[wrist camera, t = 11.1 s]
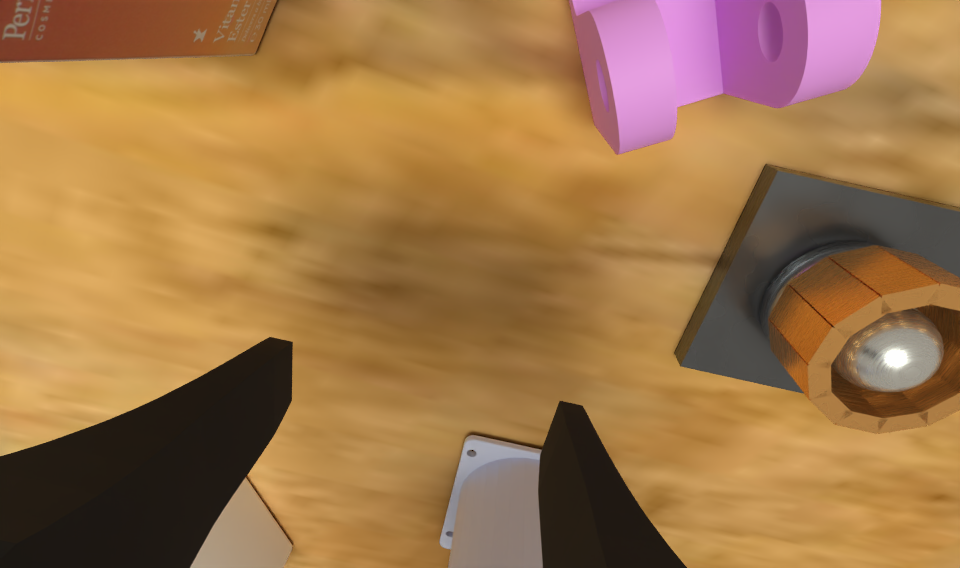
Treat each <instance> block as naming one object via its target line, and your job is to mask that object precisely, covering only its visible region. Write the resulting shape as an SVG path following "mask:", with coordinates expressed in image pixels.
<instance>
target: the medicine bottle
mask: <svg viewBox="0 0 960 568" xmlns="http://www.w3.org/2000/svg"><path fill="white" fill-rule="evenodd" d="M291 550H292V544H291V542H290V541H289V539H288V538H287V536H286V535H285V534H284V532H283V531H282V529H281V528H280V526H279V525H278V523H277V522H276V520H275V519H274V518H273V516H272V515H271V513H270V512H269V510H268V509H267V507H266V506H265V504H264V503H263V502H262V500H261V499H260V497H259V496H258V494H257V493H256V491H255V490H254V488H253V487H252V485H251V484H250V483H249V481H248V480H247V478H246V477H245V479H244V480H243V482H242V483H241V485H240V486H239V488H238V489H237V491H236V492H235V493H234V495H233V496H232V498H231V499H230V501H229V502H228V504H227V505H226V507H225V508H224V510H223V511H222V513H221V514H220V516H219V518H218V519H217V521H216V522H215V524H214V526H213V527H212V529H211V531H210V533H209V534H208V536H207V538H206V540H205V542H204V543H203V545H202V547H201V549H200V551H199V552H198V554H197V556H196V558H195V560H194V561H193V563H192V565H191V567H190V568H284V565H285V563H286V561H287V559H288V557H289V555H290V553H291Z"/></svg>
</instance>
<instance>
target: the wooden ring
mask: <svg viewBox="0 0 960 568" xmlns="http://www.w3.org/2000/svg"><path fill="white" fill-rule="evenodd" d="M789 284H790V285H788V284H787V286H786V287H785V289H784V291H783V293H782V294H781V296H780V298H779V300H778V301H777V303H776V305H775V306H774V308H773V310H772V312H771V313H770V315H769V317H768V318H769V319H768V325H769V337H770V348H771V351H772V352H773V353H774V355H775V356H776V357H777V359H778V360H779V361H780V363H781V364H782V365H783V366H784V368H785V369H786V370H787V372H788V373H789V374H790V376H791V377H792V378H793V379H794V381H795V382H796V383H797V385H798V386H799V387H800V389H801V390H802V391H803V392H804V394H805V395H806V396H807V398H808V399H809V400H810V401H811V402H812V403H813V404H814V405H815V406H816V407H817V408H818V409H819V410H820V411H821V412H822V413H823V414H824V415H825V416H826V417H827V418H828V419H829V420H831V421H832V422H833V423H834V424H835V425H839V426H843V427H848V428H853V429H857V430H862V431H866V432H871V433H875V434H877V433H878V434H880V433H887V432H893V431H900V430H906V429H913V428H919V427H926V426H927V425H928V426H929V425H931V424H933V423H935V422H937V421H939V420H941V419H943V418H945V417H947V416H949V415H951V414H953V413H955V412H957V411H959V410H960V278H959V277H958V276H956V275H954V274H952V273H950V272H949V271H947V270H945V269H943V268H941V267H940V266H938V265H936V264H934V263H933V262H931V261H929V260H927V259H925V258H924V257H922V256H920V255H918V254H915V253H910V252H906V251H901V250H897V249H892V248H888V247H884V246H879V245H872V246H868V247H864V248H859V249H855V250H851V251H847V252H842V253H838V254H834V255H829V256H828V258H827V257H825V258H824V259H822V260H821V261H819V262H818V263H816V264H815V265H814V266H812V267H811V268H809V269H808V270H806V271H805V272H804V273H802V274H801V275H799V276H798V277H796V278H795V279H794V280H792V281H791V282H789ZM912 308H917V310H919V311H920V312H921V313H923V314H924V315H925V316H927V317H928V318H929V319H930V320H931V321H932V322H933V323H934V325H935V326H936V327H937V329H938V331H939V333H940V335H941V337H942V341H943V345H944V354H943V359H942V362H941V365H940V367H939V368H938V370H937V371H936V373H935V374H934V375H933V376H932V377H931V378H930V379H929V380H927V381H926V382H925V383H923V384H921V385H919V386H917V387H915V388H912V389H909V390H905V391H900V392H878V391H871V390H868V389H865V388H861V387H859V386H857V385H855V384H852V383H851V382H849V381H847V380H846V379H844V378H843V377H842V376H841V375H840V374H839V373H837V372H836V371H835V370H834V368H833V367H832V366H831V364H832V362H833V361H834V360H835V358H836V357H837V355H838V354H839V352H840V351H841V349H842V348H843V346H844V345H845V343H846V342H847V341H848V339H849V338H850V336H852V335H853V334H855V333H856V332H858V331H860V330H861V329H863V328H865V327H866V326H868V325H869V324H871V323H873V322H874V321H876V320H878V319H879V318H881V317H882V316H884V315H886V314H887V313H892V312H897V311H902V310H907V309H912Z"/></svg>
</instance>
